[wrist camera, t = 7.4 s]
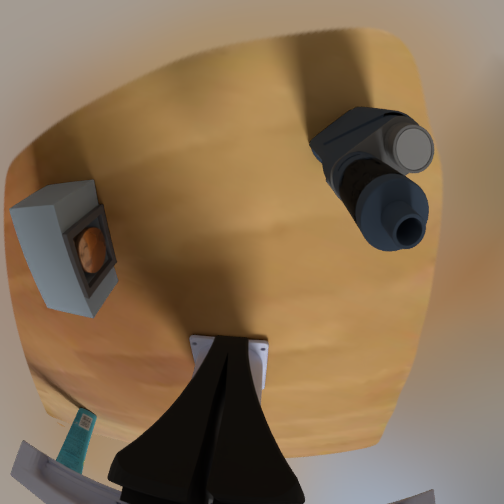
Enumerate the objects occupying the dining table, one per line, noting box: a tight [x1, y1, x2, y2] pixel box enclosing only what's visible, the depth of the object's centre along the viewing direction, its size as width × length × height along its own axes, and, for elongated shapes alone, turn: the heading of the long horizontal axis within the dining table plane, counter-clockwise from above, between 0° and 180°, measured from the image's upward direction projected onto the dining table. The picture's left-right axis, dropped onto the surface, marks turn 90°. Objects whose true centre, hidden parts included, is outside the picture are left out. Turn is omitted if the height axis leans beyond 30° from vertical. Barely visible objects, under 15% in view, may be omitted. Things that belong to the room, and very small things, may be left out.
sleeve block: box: [9, 179, 118, 318], centre depth 19 cm, size 6×10×5 cm, turn 179°
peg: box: [73, 227, 106, 273], centre depth 19 cm, size 7×4×4 cm, turn 89°
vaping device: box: [309, 107, 434, 251], centre depth 11 cm, size 3×5×12 cm, turn 133°
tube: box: [56, 408, 97, 475], centre depth 40 cm, size 7×5×19 cm, turn 80°
